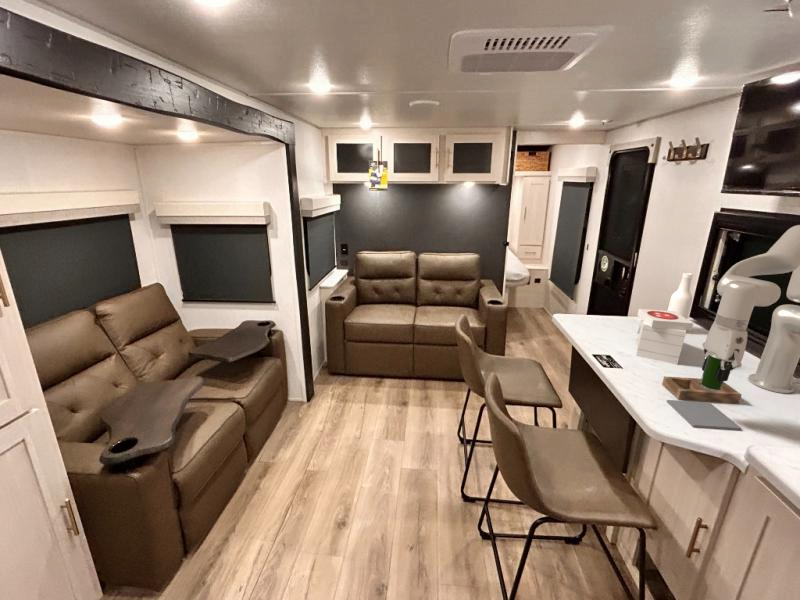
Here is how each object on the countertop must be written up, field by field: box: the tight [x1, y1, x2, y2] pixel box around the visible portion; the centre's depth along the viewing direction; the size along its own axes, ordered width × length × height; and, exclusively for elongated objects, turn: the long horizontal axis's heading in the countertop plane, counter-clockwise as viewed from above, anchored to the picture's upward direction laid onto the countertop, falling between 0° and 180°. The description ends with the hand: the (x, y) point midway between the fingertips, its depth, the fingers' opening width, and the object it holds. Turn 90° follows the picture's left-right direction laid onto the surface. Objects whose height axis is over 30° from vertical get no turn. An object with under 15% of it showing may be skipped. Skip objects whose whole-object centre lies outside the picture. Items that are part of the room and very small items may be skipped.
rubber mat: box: [666, 399, 742, 431], centre depth 123 cm, size 14×14×1 cm
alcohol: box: [667, 272, 694, 320], centre depth 190 cm, size 9×9×30 cm
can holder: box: [661, 376, 743, 404], centre depth 135 cm, size 20×10×4 cm, turn 85°
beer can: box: [700, 351, 729, 391], centre depth 118 cm, size 5×5×12 cm
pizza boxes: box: [635, 308, 694, 365], centre depth 169 cm, size 19×30×18 cm, turn 148°
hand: (714, 375), depth 119 cm, fingers closed on beer can, 5 cm apart
